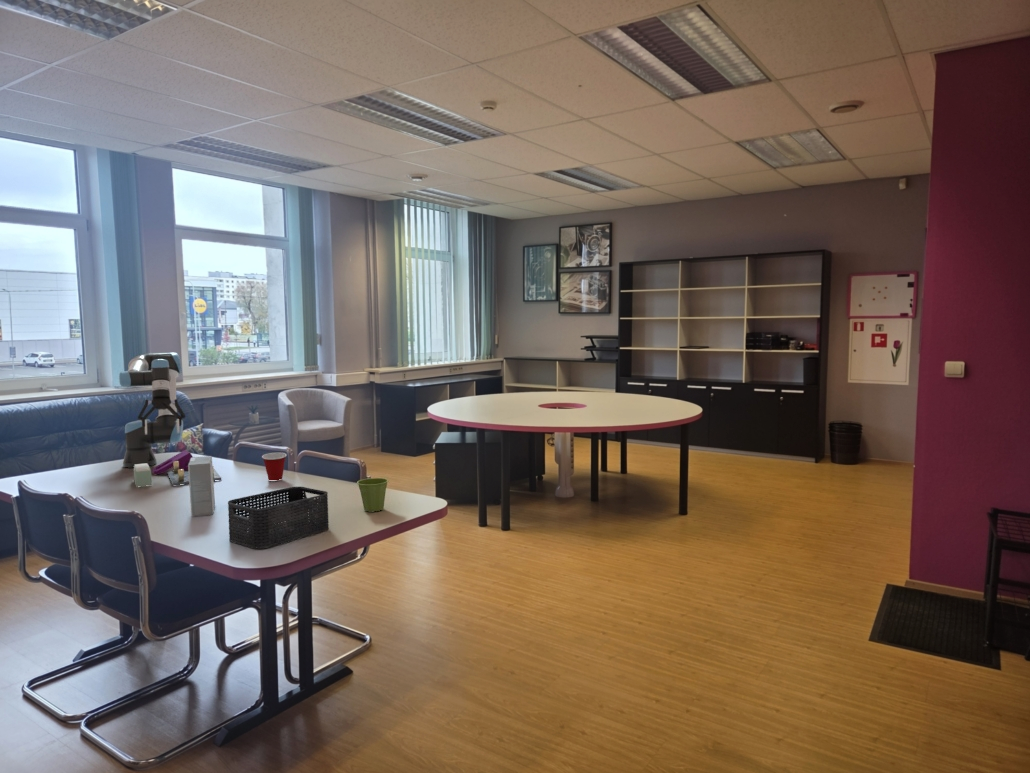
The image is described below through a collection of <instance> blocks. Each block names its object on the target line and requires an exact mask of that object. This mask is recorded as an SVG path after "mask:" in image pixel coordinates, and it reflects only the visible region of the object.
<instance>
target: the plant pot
mask: <svg viewBox="0 0 1030 773" xmlns="http://www.w3.org/2000/svg"><path fill="white" fill-rule="evenodd" d="M388 482H389V479H387V478H383V477H373V478H364V479H359V480H358V481H357V482H356V484H357V486H358V488H359V491H360V496H361V500H362V505H363V510H365V512H366V511H370V512H369V513H373V512H372V511H376V512H381V511H380V510H382V511H383V510H384V508H385V507H384V506H385V501H386V500H385V498H386V492H387V488H388V486H387V485H388Z"/></svg>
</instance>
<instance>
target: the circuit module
mask: <svg viewBox="0 0 1030 773" xmlns="http://www.w3.org/2000/svg"><path fill="white" fill-rule="evenodd" d="M134 465H135V466H134V468H133V479H134V480H135V481H134V484H135V487H136V488H137V487H138V486H146V485H152V486H153V484H152V482H153V480H152V470H151V466H149V465H148V464H147V463H144V464H134ZM138 488H139V487H138Z"/></svg>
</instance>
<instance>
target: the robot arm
mask: <svg viewBox="0 0 1030 773" xmlns="http://www.w3.org/2000/svg"><path fill="white" fill-rule="evenodd" d="M127 367H128V370H124V371H120V372H119V376H118V377H119V378H118V380H119V386H120V387H123V388H124V387H125V388H126V387H127V388H129V387H130V388H131V387H148V386H150V387H151V390H152V392H151V393H152V394H151V395H152V397H151V398H152V400H148V399H146V400H145V401H144V406H143V407H142V408H141V411H140V412H139V414H138V416H137V420H134V421H131V422H127V423H126V424H125V426H124V438H125V454H124V458H123V461H122V467H123V468H125V467H128V468H127V469H133V468H132V467H134V466H135V465H134V464H144V463H147V464H148V465H152V466H154V465H153V464H155V465H156V464H157V458H156V456H155V453H154V451H153V448H152V446H153V445H158V444H175V443H179V442H181V441H182V438H183V433H184V432H183V431H184V421H183V419H186V414H185V413H184V411H183V410H182V408H181V407H180V405H179V402H178V399H177V379H178V378H179V376H180V374H182V372H183V371H182V365H181V358H180V355H179V354H178V353H177V352H146V353H142V354H139V355H137V356H134V357H133V358H132V359H130V361H129V362H128V365H127ZM149 405H153V406H152V407H151V409H149V410H148V411H147V412H146V414H144V413H145V411H146V410H147V408H148V406H149ZM155 410H157V411H158V416H157V417H155V421H151V419H149V418H148V417H149V416H150V415H152V413H153V412H154V411H155Z"/></svg>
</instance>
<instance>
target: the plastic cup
mask: <svg viewBox="0 0 1030 773" xmlns="http://www.w3.org/2000/svg"><path fill="white" fill-rule="evenodd" d="M287 456H288V455H287V453H285V452H270V453H265V454H262V456H261V458H262V460H263V463H264V467H265V471H266V475H267V479H268V481H269V480H279V479H282V480H283V476H284V469H285V463H286V458H287Z"/></svg>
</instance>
